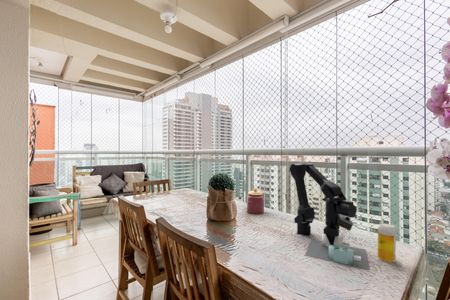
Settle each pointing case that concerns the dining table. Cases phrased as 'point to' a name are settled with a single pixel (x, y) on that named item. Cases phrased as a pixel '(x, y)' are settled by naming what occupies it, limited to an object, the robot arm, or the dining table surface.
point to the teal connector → (342, 255)
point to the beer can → (386, 242)
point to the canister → (255, 202)
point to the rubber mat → (322, 253)
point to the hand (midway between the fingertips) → (332, 243)
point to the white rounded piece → (337, 241)
